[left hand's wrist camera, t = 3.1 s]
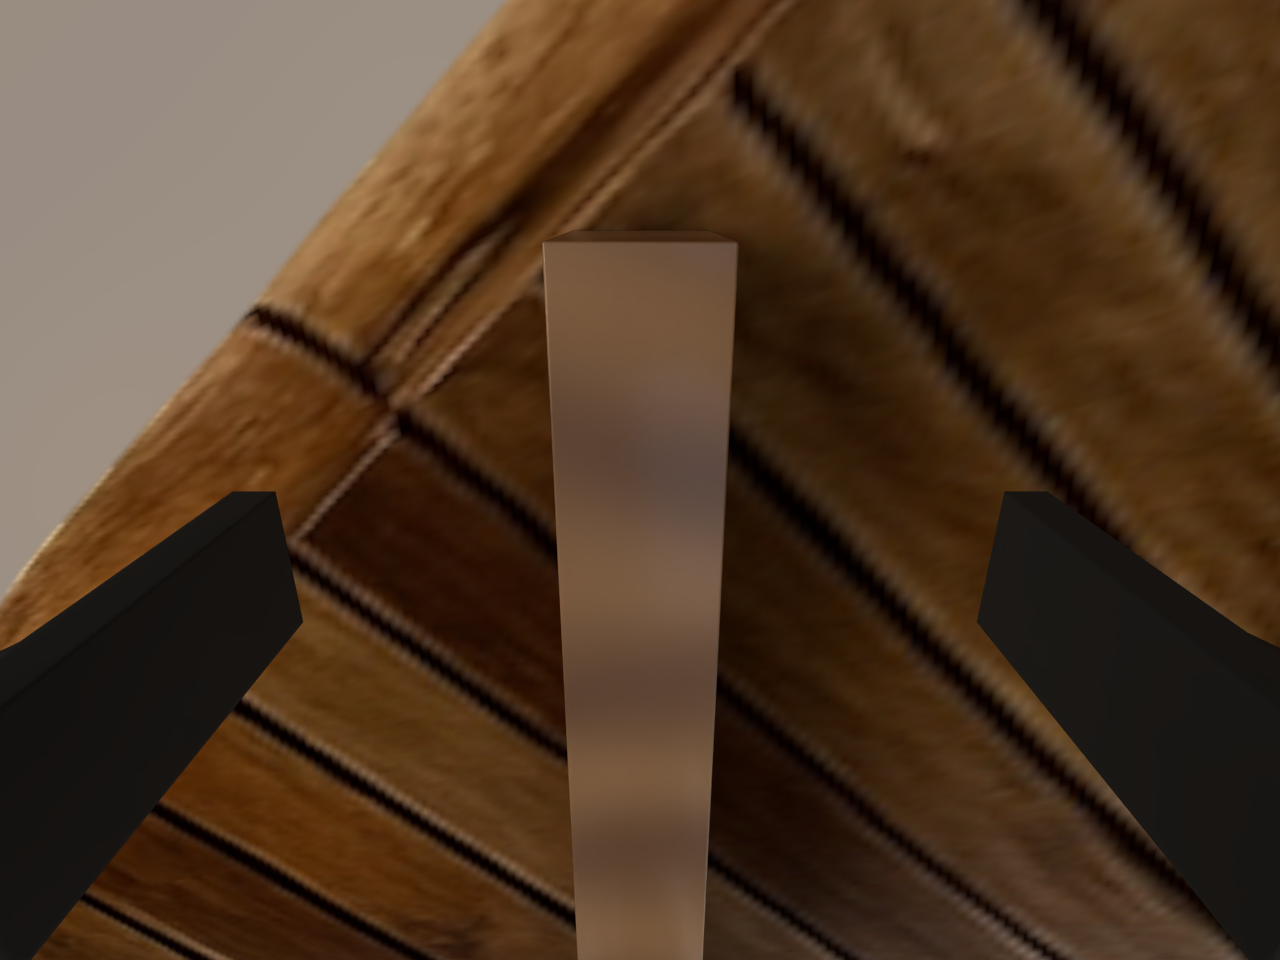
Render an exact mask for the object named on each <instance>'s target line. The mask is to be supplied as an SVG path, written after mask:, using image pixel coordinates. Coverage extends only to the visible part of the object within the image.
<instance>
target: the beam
mask: <svg viewBox="0 0 1280 960" xmlns="http://www.w3.org/2000/svg"><path fill="white" fill-rule="evenodd" d="M738 250H739V244H738V242H736V241H734V240H731V239H729V238H726V237H723V236H721V235H718V234H716V233H713V232H710V231H686V230H573V231H570V232H568V233H565V234H562V235H560V236H557V237H555V238H552V239H550V240H547V241H544V242H543V243H542V254H543V274H544V294H545V314H546V334H547V354H548V374H549V394H550V414H551V434H552V454H553V474H554V494H555V514H556V534H557V554H558V574H559V594H560V614H561V634H562V654H563V674H564V694H565V714H566V734H567V754H568V774H569V794H570V814H571V834H572V854H573V874H574V895H575V915H576V935H577V955H578V960H703V944H704V924H705V904H706V884H707V864H708V845H709V825H710V805H711V785H712V765H713V745H714V726H715V706H716V686H717V666H718V646H719V626H720V607H721V587H722V567H723V547H724V527H725V507H726V488H727V468H728V448H729V428H730V408H731V388H732V369H733V349H734V329H735V309H736V289H737V269H738Z"/></svg>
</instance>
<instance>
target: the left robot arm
mask: <svg viewBox="0 0 1280 960" xmlns="http://www.w3.org/2000/svg"><path fill="white" fill-rule="evenodd" d="M302 623H303V619H302V614H301V610H300V605H299V600H298V596H297V591H296V586H295V582H294V577H293V572H292V567H291V563H290V558H289V553H288V549H287V544H286V539H285V535H284V530H283V525H282V521H281V516H280V511H279V506H278V502H277V497H276V492H231V493H230V494H229V495H227V496H226V497H224V498H223V499H221V500H220V501H219V502H217V503H216V504H214V505H213V506H212V507H210V508H209V509H207V510H206V511H204V512H203V513H202V514H200V515H199V516H197V517H196V518H195V519H193V520H192V521H190V522H189V523H187V524H186V525H185V526H183V527H182V528H180V529H179V530H178V531H176V532H175V533H173V534H172V535H170V536H169V537H168V538H166V539H165V540H163V541H162V542H161V543H159V544H158V545H156V546H155V547H153V548H152V549H151V550H149V551H148V552H146V553H145V554H143V555H142V556H141V557H139V558H138V559H136V560H135V561H134V562H132V563H131V564H129V565H128V566H126V567H125V568H124V569H122V570H121V571H119V572H118V573H117V574H115V575H114V576H112V577H111V578H109V579H108V580H107V581H105V582H104V583H102V584H101V585H100V586H98V587H97V588H95V589H94V590H92V591H91V592H90V593H88V594H87V595H85V596H84V597H83V598H81V599H80V600H78V601H77V602H75V603H74V604H73V605H71V606H70V607H68V608H67V609H66V610H64V611H63V612H61V613H60V614H58V615H57V616H56V617H54V618H53V619H51V620H50V621H49V622H47V623H46V624H44V625H43V626H41V627H40V628H39V629H37V630H36V631H34V632H33V633H31V634H30V635H29V636H27V637H26V638H24V639H23V640H22V641H20V642H18V643H16V644H14V645H12V646H10V647H8V648H6V649H4V650H2V651H0V960H31V959H32V958H33V956H34V955H35V954H36V953H37V951H38V950H39V949H40V948H41V947H42V945H43V944H44V943H45V942H46V940H47V939H48V938H49V937H50V935H51V934H52V933H53V932H54V930H55V929H56V928H57V927H58V925H59V924H60V923H61V922H62V920H63V919H64V918H65V917H66V915H67V914H68V913H69V912H70V911H71V909H72V908H73V907H74V906H75V904H76V903H77V902H78V901H79V899H80V898H81V897H82V896H83V894H84V893H85V892H86V891H87V889H88V888H89V887H90V886H91V884H92V883H93V882H94V881H95V880H96V878H97V877H98V876H99V875H100V873H101V872H102V871H103V870H104V868H105V867H106V866H107V865H108V863H109V862H110V861H111V860H112V858H113V857H114V856H115V855H116V853H117V852H118V851H119V850H120V849H121V847H122V846H123V845H124V844H125V842H126V841H127V840H128V839H129V837H130V836H131V835H132V834H133V832H134V831H135V830H136V829H137V827H138V826H139V825H140V824H141V822H142V821H143V820H144V819H145V818H146V816H147V815H148V814H149V813H150V811H151V810H152V809H153V808H154V806H155V805H156V804H157V803H158V801H159V800H160V799H161V798H162V796H163V795H164V794H165V793H166V791H167V790H168V789H169V788H170V787H171V785H172V784H173V783H174V782H175V780H176V779H177V778H178V777H179V775H180V774H181V773H182V772H183V770H184V769H185V768H186V767H187V765H188V764H189V763H190V762H191V760H192V759H193V758H194V757H195V756H196V754H197V753H198V752H199V751H200V749H201V748H202V747H203V746H204V744H205V743H206V742H207V741H208V739H209V738H210V737H211V736H212V734H213V733H214V732H215V731H216V729H217V728H218V727H219V726H220V725H221V723H222V722H223V721H224V720H225V718H226V717H227V716H228V715H229V713H230V712H231V711H232V710H233V708H234V707H235V706H236V705H237V703H238V702H239V701H240V700H241V698H242V697H243V696H244V695H245V694H246V692H247V691H248V690H249V689H250V687H251V686H252V685H253V684H254V682H255V681H256V680H257V679H258V677H259V676H260V675H261V674H262V672H263V671H264V670H265V669H266V667H267V666H268V665H269V664H270V663H271V661H272V660H273V659H274V658H275V656H276V655H277V654H278V653H279V651H280V650H281V649H282V648H283V646H284V645H285V644H286V643H287V641H288V640H289V639H290V638H291V636H292V635H293V634H294V633H295V632H296V630H297V629H298V628H299V627H300V625H301V624H302ZM977 623H978V624H979V625H980V627H981V628H982V629H983V630H984V632H985V633H986V634H987V635H988V636H989V638H990V639H991V640H992V641H993V643H994V644H995V645H996V646H997V648H998V649H999V650H1000V651H1001V653H1002V654H1003V655H1004V656H1005V658H1006V659H1007V660H1008V661H1009V663H1010V664H1011V665H1012V666H1013V667H1014V669H1015V670H1016V671H1017V672H1018V674H1019V675H1020V676H1021V677H1022V679H1023V680H1024V681H1025V682H1026V684H1027V685H1028V686H1029V687H1030V689H1031V690H1032V691H1033V692H1034V694H1035V695H1036V696H1037V697H1038V698H1039V700H1040V701H1041V702H1042V703H1043V705H1044V706H1045V707H1046V708H1047V710H1048V711H1049V712H1050V713H1051V715H1052V716H1053V717H1054V718H1055V720H1056V721H1057V722H1058V723H1059V725H1060V726H1061V727H1062V728H1063V729H1064V731H1065V732H1066V733H1067V734H1068V736H1069V737H1070V738H1071V739H1072V741H1073V742H1074V743H1075V744H1076V746H1077V747H1078V748H1079V749H1080V751H1081V752H1082V753H1083V754H1084V756H1085V757H1086V758H1087V759H1088V760H1089V762H1090V763H1091V764H1092V765H1093V767H1094V768H1095V769H1096V770H1097V772H1098V773H1099V774H1100V775H1101V777H1102V778H1103V779H1104V780H1105V782H1106V783H1107V784H1108V785H1109V787H1110V788H1111V789H1112V790H1113V791H1114V793H1115V794H1116V795H1117V796H1118V798H1119V799H1120V800H1121V801H1122V803H1123V804H1124V805H1125V806H1126V808H1127V809H1128V810H1129V811H1130V813H1131V814H1132V815H1133V816H1134V818H1135V819H1136V820H1137V821H1138V822H1139V824H1140V825H1141V826H1142V827H1143V829H1144V830H1145V831H1146V832H1147V834H1148V835H1149V836H1150V837H1151V839H1152V840H1153V841H1154V842H1155V844H1156V845H1157V846H1158V847H1159V849H1160V850H1161V851H1162V852H1163V853H1164V855H1165V856H1166V857H1167V858H1168V860H1169V861H1170V862H1171V863H1172V865H1173V866H1174V867H1175V868H1176V870H1177V871H1178V872H1179V873H1180V875H1181V876H1182V877H1183V878H1184V880H1185V881H1186V882H1187V883H1188V885H1189V886H1190V887H1191V888H1192V889H1193V891H1194V892H1195V893H1196V894H1197V896H1198V897H1199V898H1200V899H1201V901H1202V902H1203V903H1204V904H1205V906H1206V907H1207V908H1208V909H1209V911H1210V912H1211V913H1212V914H1213V916H1214V917H1215V918H1216V919H1217V920H1218V922H1219V923H1220V924H1221V925H1222V927H1223V928H1224V929H1225V930H1226V932H1227V933H1228V934H1229V935H1230V937H1231V938H1232V939H1233V940H1234V942H1235V943H1236V944H1237V945H1238V947H1239V948H1240V949H1241V950H1242V951H1243V953H1244V954H1245V955H1246V956H1247V958H1248V959H1249V960H1280V648H1279V647H1277V646H1274V645H1272V644H1270V643H1268V642H1266V641H1264V640H1262V639H1260V638H1258V637H1255V636H1253V635H1251V634H1249V633H1247V632H1246V631H1244V630H1243V629H1241V628H1240V627H1239V626H1237V625H1236V624H1234V623H1233V622H1231V621H1230V620H1229V619H1227V618H1226V617H1224V616H1223V615H1222V614H1220V613H1219V612H1217V611H1216V610H1214V609H1213V608H1212V607H1210V606H1209V605H1207V604H1206V603H1205V602H1203V601H1202V600H1200V599H1199V598H1197V597H1196V596H1195V595H1193V594H1192V593H1190V592H1189V591H1188V590H1186V589H1185V588H1183V587H1182V586H1180V585H1179V584H1178V583H1176V582H1175V581H1173V580H1172V579H1171V578H1169V577H1168V576H1166V575H1165V574H1163V573H1162V572H1161V571H1159V570H1158V569H1156V568H1155V567H1154V566H1152V565H1151V564H1149V563H1148V562H1146V561H1145V560H1144V559H1142V558H1141V557H1139V556H1138V555H1136V554H1135V553H1134V552H1132V551H1131V550H1129V549H1128V548H1127V547H1125V546H1124V545H1122V544H1121V543H1119V542H1118V541H1117V540H1115V539H1114V538H1112V537H1111V536H1110V535H1108V534H1107V533H1105V532H1104V531H1102V530H1101V529H1100V528H1098V527H1097V526H1095V525H1094V524H1093V523H1091V522H1090V521H1088V520H1087V519H1085V518H1084V517H1083V516H1081V515H1080V514H1078V513H1077V512H1076V511H1074V510H1073V509H1071V508H1070V507H1068V506H1067V505H1066V504H1064V503H1063V502H1061V501H1060V500H1059V499H1057V498H1056V497H1054V496H1053V495H1051V494H1050V493H1049V492H1004V497H1003V502H1002V506H1001V511H1000V516H999V521H998V525H997V530H996V535H995V539H994V544H993V549H992V553H991V558H990V563H989V567H988V572H987V577H986V582H985V586H984V591H983V596H982V600H981V605H980V610H979V614H978V619H977Z"/></svg>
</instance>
